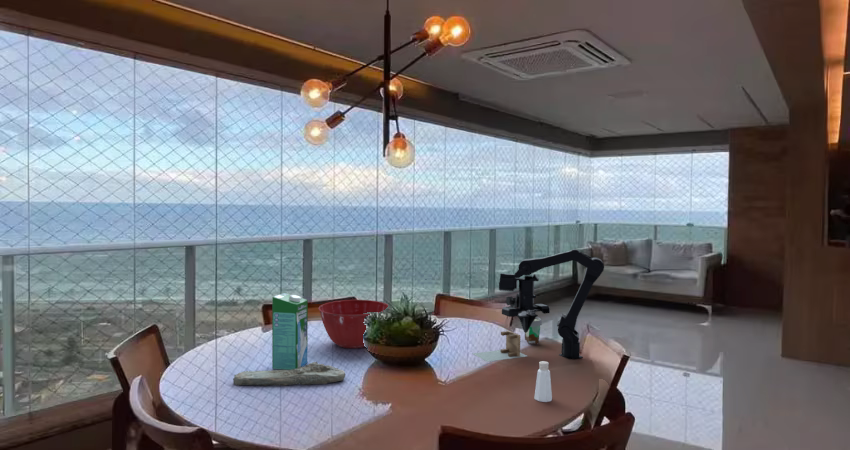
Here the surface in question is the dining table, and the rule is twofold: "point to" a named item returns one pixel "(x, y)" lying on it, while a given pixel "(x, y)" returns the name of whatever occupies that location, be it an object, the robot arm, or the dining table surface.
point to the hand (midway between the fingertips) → (525, 332)
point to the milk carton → (289, 331)
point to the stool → (511, 343)
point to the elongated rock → (291, 376)
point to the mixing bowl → (348, 320)
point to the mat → (495, 355)
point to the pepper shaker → (543, 383)
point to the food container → (533, 332)
